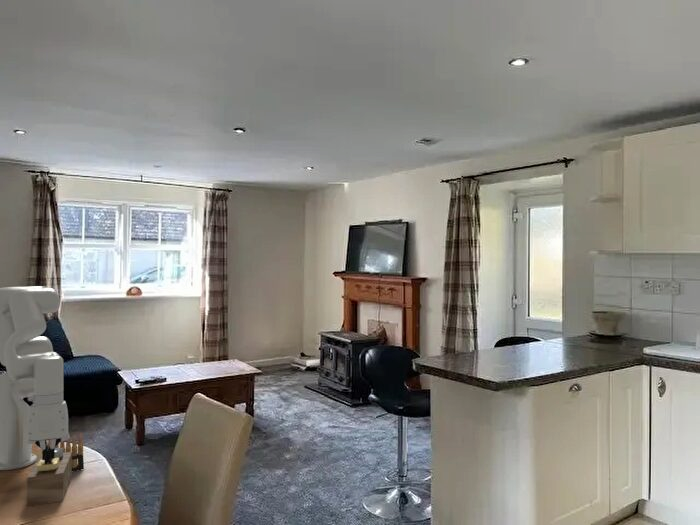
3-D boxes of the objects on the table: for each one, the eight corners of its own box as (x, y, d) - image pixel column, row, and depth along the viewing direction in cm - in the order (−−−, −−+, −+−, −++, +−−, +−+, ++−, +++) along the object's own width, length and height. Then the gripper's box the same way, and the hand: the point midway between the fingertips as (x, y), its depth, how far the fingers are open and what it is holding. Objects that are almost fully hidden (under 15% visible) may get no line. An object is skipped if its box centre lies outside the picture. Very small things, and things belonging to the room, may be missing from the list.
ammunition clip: (46, 477, 167) (46, 439, 167) (46, 475, 168) (46, 437, 168) (83, 469, 173) (84, 433, 173) (83, 467, 174) (83, 431, 174)
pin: (41, 486, 157) (41, 455, 157) (44, 479, 162) (44, 449, 162) (61, 484, 159) (61, 452, 159) (64, 477, 164) (64, 447, 164)
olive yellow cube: (40, 475, 154) (40, 459, 154) (59, 472, 156) (59, 457, 156) (36, 481, 149) (36, 465, 149) (56, 479, 151) (56, 463, 151)
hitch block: (39, 480, 164) (39, 455, 164) (71, 476, 167) (71, 451, 167) (27, 506, 147) (27, 477, 147) (63, 500, 150) (63, 473, 150)
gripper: (15, 404, 146) (15, 470, 146) (75, 399, 152) (75, 462, 152) (22, 398, 153) (21, 460, 153) (78, 393, 159) (78, 454, 159)
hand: (48, 461), depth 152 cm, fingers closed
